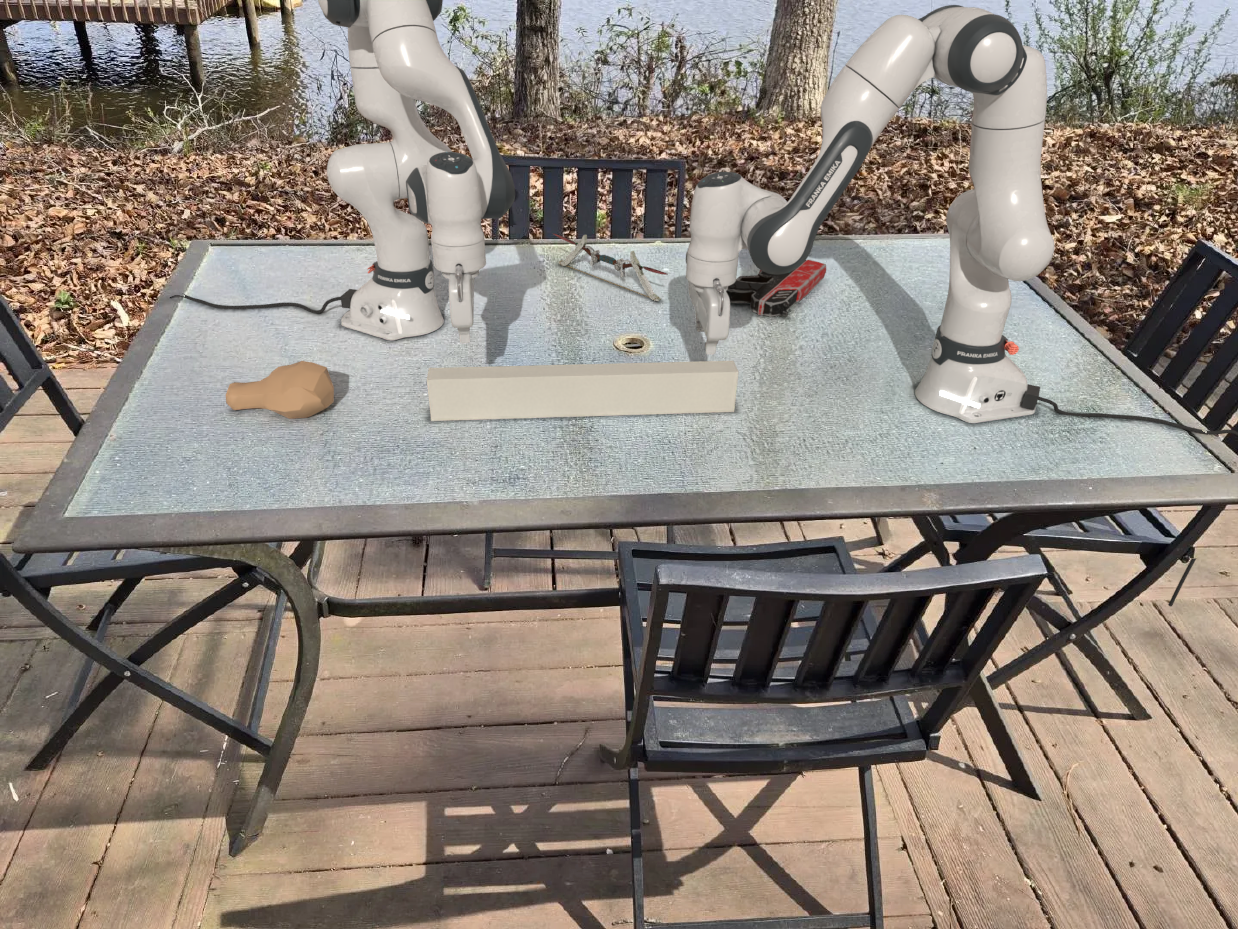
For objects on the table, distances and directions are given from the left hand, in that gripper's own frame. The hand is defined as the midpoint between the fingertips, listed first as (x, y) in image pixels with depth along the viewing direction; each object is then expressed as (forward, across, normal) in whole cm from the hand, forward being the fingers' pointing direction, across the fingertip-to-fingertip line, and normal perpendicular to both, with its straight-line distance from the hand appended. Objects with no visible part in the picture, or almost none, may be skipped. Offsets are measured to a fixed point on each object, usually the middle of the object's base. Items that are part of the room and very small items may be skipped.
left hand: (465, 330), depth 156 cm
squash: (+16, +3, +35) cm, 38 cm away
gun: (+16, +52, -72) cm, 91 cm away
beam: (+16, -2, -21) cm, 27 cm away
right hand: (+3, -3, -43) cm, 43 cm away
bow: (+15, +61, -33) cm, 71 cm away
